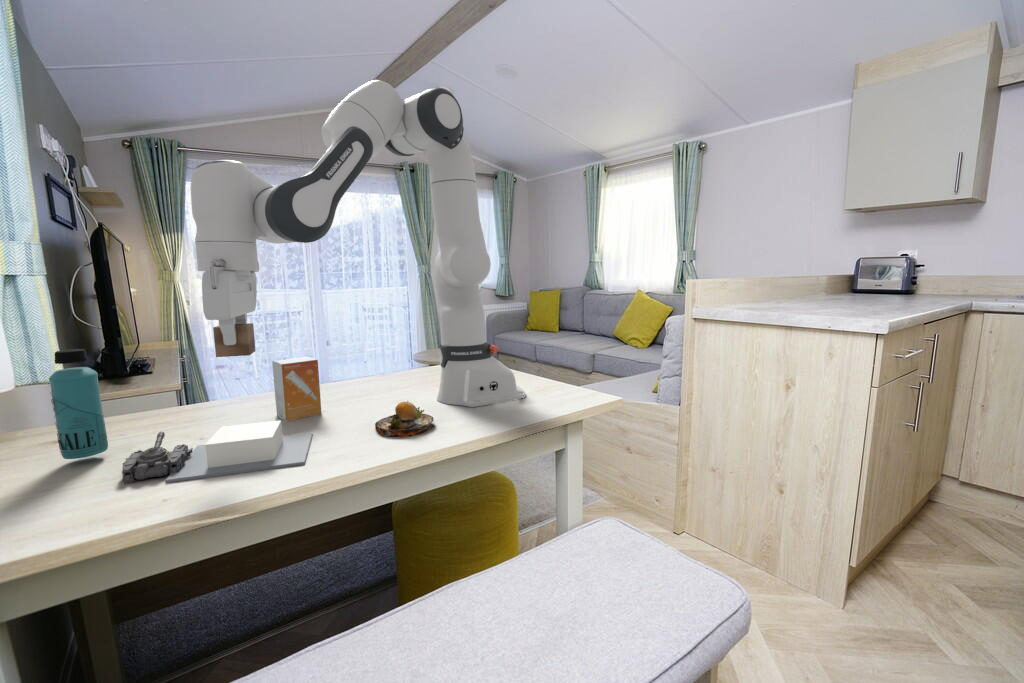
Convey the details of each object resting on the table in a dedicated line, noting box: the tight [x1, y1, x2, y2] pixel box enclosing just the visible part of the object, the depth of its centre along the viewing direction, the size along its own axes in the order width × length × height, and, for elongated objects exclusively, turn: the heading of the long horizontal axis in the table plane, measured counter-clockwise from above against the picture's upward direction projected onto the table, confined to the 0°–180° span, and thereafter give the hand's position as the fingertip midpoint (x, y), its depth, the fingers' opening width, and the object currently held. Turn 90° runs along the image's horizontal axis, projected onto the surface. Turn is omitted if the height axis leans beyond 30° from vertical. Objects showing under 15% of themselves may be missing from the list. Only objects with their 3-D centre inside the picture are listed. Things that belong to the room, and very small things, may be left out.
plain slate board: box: [165, 432, 314, 484], centre depth 84 cm, size 20×16×1 cm
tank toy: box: [121, 431, 194, 485], centre depth 79 cm, size 12×10×5 cm
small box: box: [271, 356, 322, 422], centre depth 108 cm, size 8×6×13 cm
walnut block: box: [212, 322, 256, 358], centre depth 81 cm, size 5×5×5 cm
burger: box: [374, 401, 435, 438], centre depth 98 cm, size 12×12×8 cm
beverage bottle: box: [48, 348, 109, 460], centre depth 82 cm, size 6×7×20 cm
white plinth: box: [204, 419, 284, 468], centre depth 84 cm, size 10×10×4 cm
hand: (235, 342), depth 81 cm, fingers closed on walnut block, 5 cm apart
